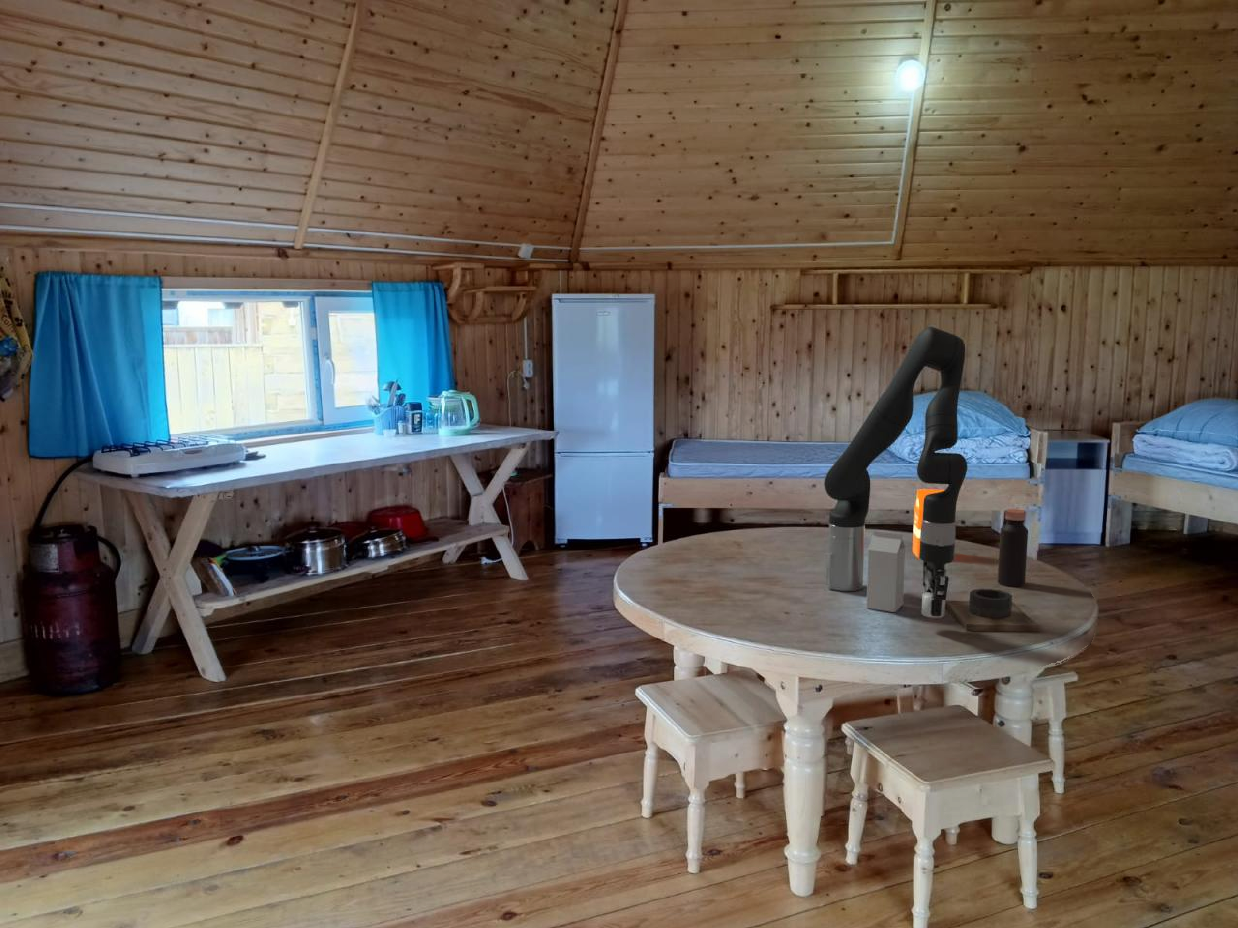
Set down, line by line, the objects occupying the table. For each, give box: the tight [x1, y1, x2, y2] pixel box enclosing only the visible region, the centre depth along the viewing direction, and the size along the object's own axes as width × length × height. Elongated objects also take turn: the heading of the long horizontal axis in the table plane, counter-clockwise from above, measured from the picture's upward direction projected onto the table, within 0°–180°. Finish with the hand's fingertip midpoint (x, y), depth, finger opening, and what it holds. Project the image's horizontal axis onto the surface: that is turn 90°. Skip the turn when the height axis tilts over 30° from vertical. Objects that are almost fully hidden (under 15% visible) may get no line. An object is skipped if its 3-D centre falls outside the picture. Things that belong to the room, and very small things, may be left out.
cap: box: [921, 592, 946, 619], centre depth 216 cm, size 5×5×4 cm
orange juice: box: [912, 488, 945, 559], centre depth 282 cm, size 8×9×20 cm
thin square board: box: [945, 588, 1039, 633], centre depth 225 cm, size 16×18×6 cm
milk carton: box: [866, 530, 906, 613], centre depth 233 cm, size 7×7×19 cm
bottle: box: [997, 508, 1029, 588], centre depth 252 cm, size 7×7×20 cm
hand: (932, 611), depth 216 cm, fingers closed on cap, 5 cm apart
